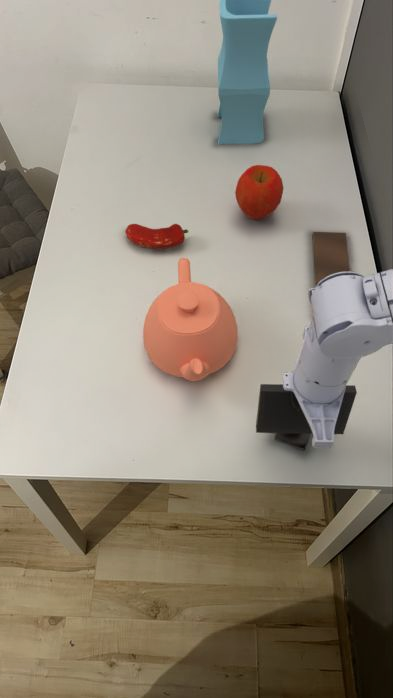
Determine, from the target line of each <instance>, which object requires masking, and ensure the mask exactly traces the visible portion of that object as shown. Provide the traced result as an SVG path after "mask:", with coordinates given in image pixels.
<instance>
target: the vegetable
mask: <svg viewBox="0 0 393 698" xmlns="http://www.w3.org/2000/svg"><path fill="white" fill-rule="evenodd" d="M124 232H125V236H126V238H127V239H128V240H129V242H131V243H132V244H134V245H136V246H139V247H141V248H146V249H153V250H155V249H156V250H157V249H160V250H161V249H170V248H174V247H177V246H180V245H182V244H184V242H185V239H186V238H185V234H188V233H189V230H188V229H183V228H182V226H181V225H180V224H178V223H172V224H171V225H169V226H168V227H160V228H150V227H147V226H144V225H141V224H138V223H131V224H128V226H127V227H126V228H125V231H124Z"/></svg>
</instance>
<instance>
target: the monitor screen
mask: <svg viewBox="0 0 393 698" xmlns="http://www.w3.org/2000/svg"><path fill="white" fill-rule="evenodd" d="M357 393H358V391H357V389H356V385H354V384H353V385H352V384H351V385H349V384H348V385H347V384H346V389H345V393H344V396H343V400H342V403H341V407H340V411H339V414H338V418H337V421H336V425H335V430H334V435H344V434H345V430H346V428H347V424H348V422H349V418H350V415H351V412H352V409H353V406H354V402H355V399H356V396H357ZM258 394H259V395H258V401H257V403H258V404H257V410H256V421H255V433H257V434H276V433H296V434H310V435H313V433H312V430H311V428H310V425H309V423H308V421H307V419H306V417H305V415H298V413H297V409H294V407H293V404H292V396H291V391H287V390H285V389H284V388H283V383H282V384H280V383H277V384H276V383H275V384H274V383H260V385H259V393H258Z"/></svg>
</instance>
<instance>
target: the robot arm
mask: <svg viewBox="0 0 393 698" xmlns="http://www.w3.org/2000/svg"><path fill="white" fill-rule="evenodd" d="M307 295H308V300H309V303H310V305H311V309H312V316H311V320H310V323H309V325H308V326H305V327H304V329H303V332H302V341H303V342H302V344H301V347H300V349H299V353H298V355H297V359H296V362H295V365H294V367H293V369H292V371H286V372H284V373H283V375H282V384H283V388H284V389H285V390H287V391H291V396H292V404H293V407H294V409H297V413H298V415H305V417H306V419H307V421H308V423H309V425H310V428H311V430H312V433H313V434H312V436H313V437H312V439H311V445H312V448H317V449H318V448H320V449H322V448H323V449H327V448H329V449H331V448H332V446H333V445H334V444H335V434H334V430H335V425H336V421H337V418H338V414H339V411H340V407H341V403H342V400H343V396H344V393H345V389H346V385H347V384H348V383H349V381H350V380H351V377H352V376H353V374H354V371H355V370H356V368H357V366H358V364H359V362H360V360H361V359H362V358H364V357H367V356H370V355H372V354H375V353H377V352H379V351H380V350H381V349H382V348H384V347H386V346H389V345H393V268H390V269H387V270H383V271H380V272H377V273H373V274H369V275H367V276H364V275H363V274H361V273H360V272H355V271H351V270H350V271H347V272H339V273H335V274H332V275H329V276H327V277H325V278H324V279H322V280H321V281H320V282H319V283H318V284H317V286H316V287H315V286H314V287H313V288H309V289H308V292H307Z"/></svg>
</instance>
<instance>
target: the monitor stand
mask: <svg viewBox="0 0 393 698" xmlns="http://www.w3.org/2000/svg"><path fill="white" fill-rule="evenodd" d="M310 436H311V434H296V433H275V436H274V440H275V441H277V442H280V443H282V444H284V445H287V446H290V447H293V448H295V449H298V450H300V451H303V452H304V451H305V450H306V448H307V444H308V442H309V438H310Z"/></svg>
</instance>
